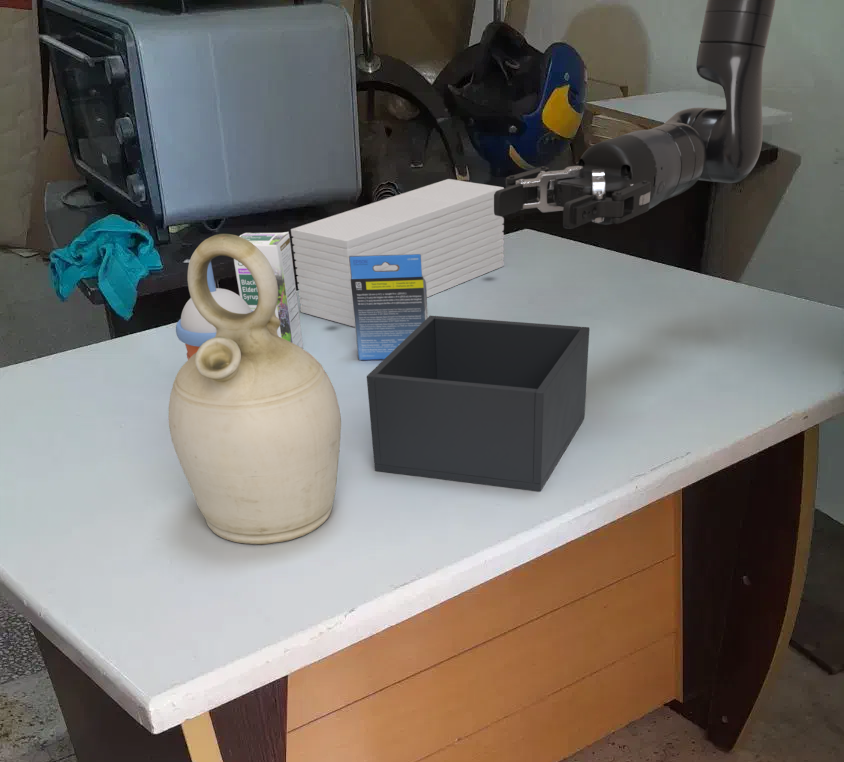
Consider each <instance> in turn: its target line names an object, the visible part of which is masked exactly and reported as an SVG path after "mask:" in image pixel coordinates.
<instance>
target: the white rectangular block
mask: <svg viewBox="0 0 844 762" xmlns="http://www.w3.org/2000/svg"><path fill="white" fill-rule="evenodd" d="M501 189H504V187H503V186H497V185H491V184H484V183H478V182H472V181H464V180H460V179H459V180H458V179H452V178H447V179H443V180H441V181H438V182H434V183H431V184H428V185H425V186H421V187H418V188H416V189H413V190H409V191H406V192H402V193H400V194H397V195H394V196H390V197H388V198H384V199H381V200H378V201H375V202H371V203H369V204H366V205H362V206H360V207H356V208H353V209H350V210H347V211H344V212H341V213H337V214H334V215H331V216H328V217H324V218H322V219H319V220H316V221H312V222H309V223H306V224H302V225H299V226H297V227H293V228H291V229H290V234H291V237H292V238H291V241H292V243H291V244H292V245H293V246H292V250H293V257H294V258H293V259H294V260H295V261H294V266H295V275H297V276H296V282H297V289H298V290H299V291H298V297H299V304H300V313H303V314H307V315H310V316H313V317H318V318H321V319H325V320H329V321H331V322H336V323H339V324H342V325H346V326H350V327H353V328H355V318H354V308H353V298H352V289H351V274H350V262H349V256H369V255H406V254H421V265H422V276H423V278H424V279H425V281H426V291H427V298H429V297H431V296H434V295H436V294H439V293H442V292H443V291H447V290H449V289H451V288H454V287H456V286H458V285H461V284H463V283H465V282H468V281H471V280H473V279H476V278H478V277H481V276H483V275H484V274H488V273H490V272H493V271H496V270H498V269H500V268H502V267H504V262H505V261H504V260H505V259H504V258H505V256H504V255H505V253H504V252H505V251H504V250H505V248H504V247H505V246H504V245H505V244H504V243H505V241H504V240H505V239H504V237H505V232H504V230H505V225H504V224H505V218H504V217H503V216H502V217H501V216H496V215H495V214H494V194H495V192H496V191H498V190H501ZM397 269H398V267H397V266H396V265H388V264H387V263H386V262H385V263H383V264H382V265H381V266H374V270H375V271H387V270H393V271H394V270H397Z"/></svg>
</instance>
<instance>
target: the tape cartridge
mask: <svg viewBox="0 0 844 762" xmlns="http://www.w3.org/2000/svg"><path fill="white" fill-rule="evenodd" d="M349 262H350V274H351V289H352V298H353V308H354V318H355V327H354V328H355V337H356V338H355V339H356V349H357V350H356V351H357V358H358V360H359V361H375V360H376V361H377V360H378V361H379V360H384V359H385V358H386V357H387V356H388V355H389V354H390V353H391V352H392V351H394V350H395V349H396V348H397V347H398V346H399V345H400V344H401V343H402V342H403V341H404V340H405V339H406V338H407V337H408V336H409V335H410V334H411V333H412V332H413V331H414V330H415V329H417V328H418V327H419V326H420V325H421V324H422V323H423V322H424V321H425V320H426V319H427V318H428V317H429V309H428V297H427V291H426V281H425V279H424V278H423V276H422V265H421V254H406V255H369V256H349ZM385 262H386V263H387V264H388V265H396V266H397V267H398V269H397V270H394V271H393V270H387V271H375V270H374V266H381V265H382V264H383V263H385Z"/></svg>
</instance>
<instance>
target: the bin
mask: <svg viewBox="0 0 844 762" xmlns="http://www.w3.org/2000/svg"><path fill="white" fill-rule="evenodd" d="M589 344H590V327H588V326H577V325H563V324H561V325H560V324H549V323H536V322H522V321H508V320H496V319H482V318H470V317H469V318H468V317H454V316H441V315H428V318H427V319H426V320H425V321H424V322H423V323H422V324H421V325H420V326H419V327H418V328H417V329H415V330H414V331H413V332H412V333H411V334H410V335H409V336H408V337H407V338H406V339H405V340H404V341H403V342H402V343H401V344H400V345H399V346H398V347H397V348H396V349H395V350H394V351H392V352H391V353H390V354H389V355H388V356H387V357H386V358H385V359H382V360H381V362H379V364H378V365H377V366H376V367H375V368H373V369H372V370H371V371H370V372H369V373H368V374H366V385H367V397H368V409H369V420H370V430H371V441H372V442H371V443H372V453H373V465H374V466H373V467H374V471H375V472H383V473H388V474H389V473H391V474H398V475H406V476H415V477H421V478H428V479H429V478H430V479H437V480H445V481H453V482H462V483H470V484H479V485H485V486H486V485H487V486H492V487H493V486H495V487H501V488H510V489H518V490H525V491H533V492H541V491H542V490H543V488H544V486H545V485H546V484H547V482H548V480H549V479H550V476H551V475H552V473H553V472H554V470H555V468H556V466H557V465H558V463H559V462H560V460H561V458H562V456H563V455H564V454H565V452H566V450H567V449H568V447H569V445H570V443H571V442H572V440H573V438H574V437H575V435H576V434H577V432H578V430H579V428H580V427H581V425H582V423H583V421H584V420H585V415H586V414H585V413H586V397H587V379H588V360H589Z"/></svg>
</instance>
